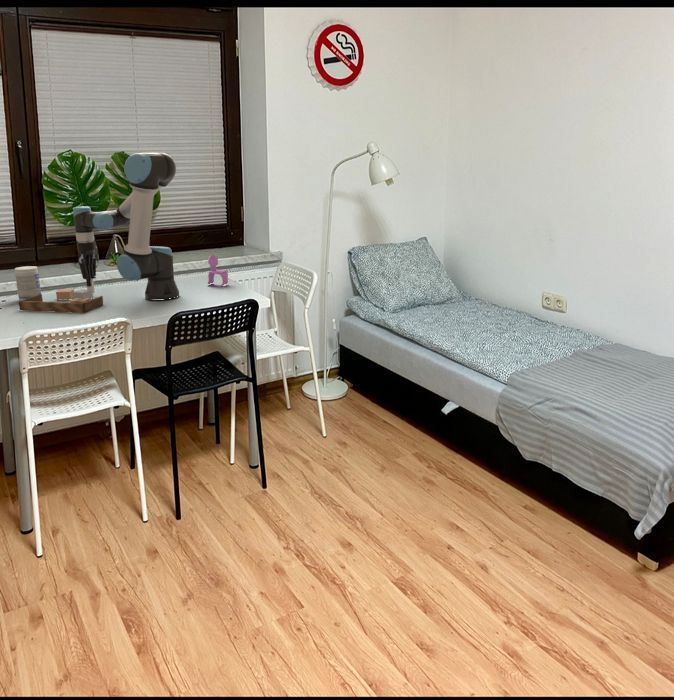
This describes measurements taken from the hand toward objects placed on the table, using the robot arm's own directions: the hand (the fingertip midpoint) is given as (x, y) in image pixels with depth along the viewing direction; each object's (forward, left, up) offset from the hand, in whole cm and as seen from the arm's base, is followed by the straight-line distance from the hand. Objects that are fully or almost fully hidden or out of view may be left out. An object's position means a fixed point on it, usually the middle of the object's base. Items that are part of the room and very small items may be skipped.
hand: (91, 292), depth 319 cm
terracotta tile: (+8, +7, -2) cm, 11 cm away
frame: (0, +24, -1) cm, 24 cm away
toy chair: (-50, -31, -2) cm, 59 cm away
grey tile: (0, +7, -2) cm, 7 cm away
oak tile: (-8, +24, -2) cm, 26 cm away
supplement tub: (+23, +12, -2) cm, 26 cm away
